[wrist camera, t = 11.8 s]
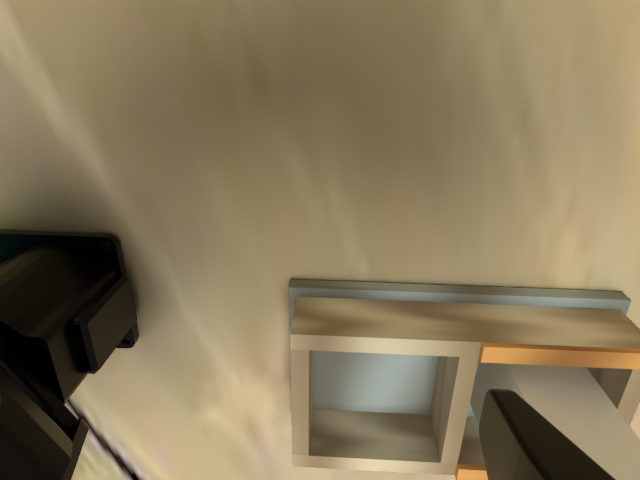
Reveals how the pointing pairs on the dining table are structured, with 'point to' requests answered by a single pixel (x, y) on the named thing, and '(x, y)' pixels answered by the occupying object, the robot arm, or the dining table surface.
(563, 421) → the bottle
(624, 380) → the rack
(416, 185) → the dining table surface
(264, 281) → the dining table surface
